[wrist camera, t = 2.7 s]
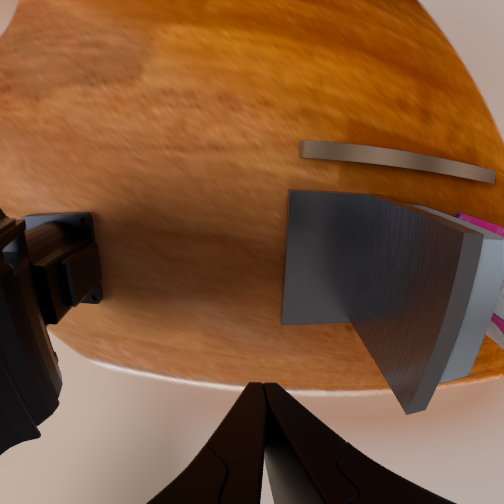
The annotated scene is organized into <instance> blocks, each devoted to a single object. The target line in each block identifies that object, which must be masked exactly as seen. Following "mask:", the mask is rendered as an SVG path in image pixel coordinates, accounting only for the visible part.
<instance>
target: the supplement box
mask: <svg viewBox="0 0 504 504" xmlns="http://www.w3.org/2000/svg"><path fill="white" fill-rule="evenodd" d="M455 218H458V219H461V220H463V221H466V222H469V223H471V224H474V225H476V226H479V227H481V228H484V229H486V230H488V231H491V232H493V233H496V234H498V235H500V236H503V237H504V228H503V227H500V226H498V225H495V224H492V223H489V222H486V221H483V220H480V219H477V218H474V217H471V216H468V215H465V214H462V213H458V214H457V215H456V217H455ZM486 335H487V336H489V337H490V338H491V339H492V340H493V341H494V342H496V343H497V344H498V345H499V346H500V347H502V348H503V349H504V278H503V282H502V285H501V289H500V292H499V296H498V299H497V302H496V305H495V309H494V312H493V315H492V318H491V321H490V323H489V326H488V329H487V332H486Z"/></svg>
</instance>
